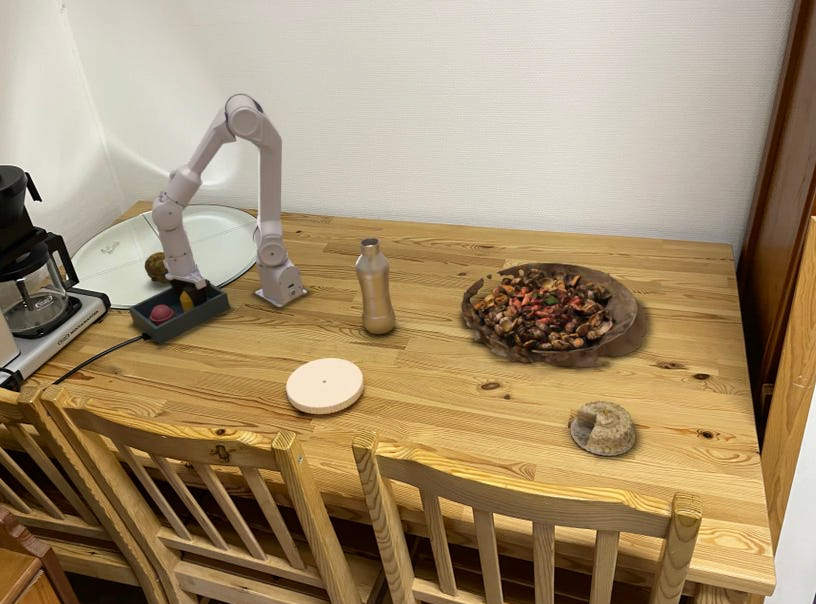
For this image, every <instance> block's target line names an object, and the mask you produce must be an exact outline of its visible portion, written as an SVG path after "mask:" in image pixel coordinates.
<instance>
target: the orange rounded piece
mask: <svg viewBox="0 0 816 604" xmlns="http://www.w3.org/2000/svg"><path fill="white" fill-rule="evenodd" d="M180 301H181V304H182V308H183V311H184V312H186V311H188V310H190V309H192V308H194V305H193V303H192V300H191V299H190V297H189V296H188V294H187V293H186V292H185V291H183V292H182V295H181V296H180Z"/></svg>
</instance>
